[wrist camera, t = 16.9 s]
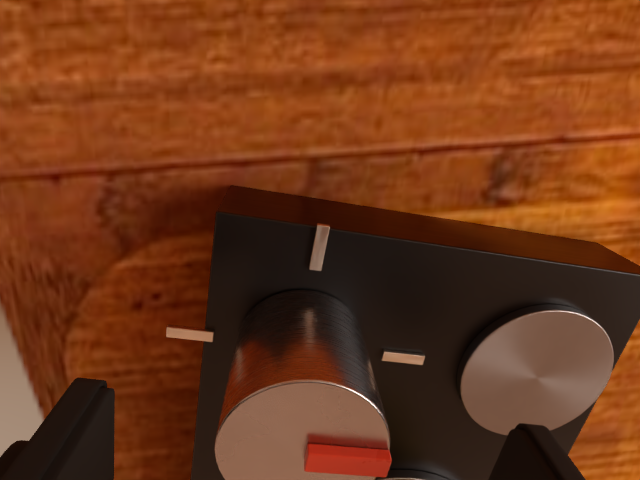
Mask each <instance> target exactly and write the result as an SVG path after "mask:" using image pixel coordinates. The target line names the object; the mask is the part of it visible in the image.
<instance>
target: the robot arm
mask: <svg viewBox="0 0 640 480" xmlns="http://www.w3.org/2000/svg"><path fill="white" fill-rule="evenodd" d="M114 401H115V393H114V389H113V388H107V383H106V381H104V380H96V379H86V378H77V379H75V380H74V381H73V382H72V383H71V385H70V386H69V388H68V389H67V390H66V392H65V393H64V394H63V396H62V397H61V398H60V400H59V401H58V402H57V404H56V405H55V406H54V408H53V409H52V410H51V412H50V413H49V415H48V416H47V417H46V419H45V420H44V421H43V423H42V424H41V425H40V427H39V428H38V429H37V431H36V432H35V433H34V435H33V436H32V438H31V439H30V440H29V441H22V440H21V441H16V442H15V443H13V444H12V445H11V446H10V447H9V448H8V449H7V450H6V451H5V452H4V453H3V455H2V456H1V457H0V480H113V479H114ZM488 480H585V478H584V477H583V476H582V474H581V473H580V472H579V470H578V469H577V467H576V466H575V465H574V463H573V462H572V461H571V459H570V458H569V456H568V455H567V454H566V452H565V451H564V450H563V448H562V447H561V445H560V444H559V443H558V441H557V440H556V439H555V437H554V436H553V434H552V433H551V432H550V430H549V429H548V428H547V427H545V426H543V425H534V424H525V423H519V424H518V425H517V426H516V427H515V429H512V430H510V432H509V434H508V436H507V438H506V441H505V443H504V445H503V447H502V450H501V452H500V454H499V456H498V459H497V461H496V463H495V465H494V468H493V470H492V472H491V475H490V477H489V479H488Z"/></svg>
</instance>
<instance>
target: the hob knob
mask: <svg viewBox="0 0 640 480" xmlns="http://www.w3.org/2000/svg"><path fill="white" fill-rule="evenodd" d="M389 449H390V431H389V427H388V424H387V420H386V417H385V413H384V409H383V406H382V402H381V399H380V395H379V391H378V388H377V384H376V381H375V377H374V373H373V370H372V366H371V363H370V359H369V356H368V352H367V348H366V345H365V341H364V338H363V334H362V330H361V327H360V324H359V322H358V320H357V318H356V317H355V315H354V314H353V313H352V312H351V310H350V309H349V308H348V307H347V306H345V305H344V304H343V303H342V302H340V301H338V300H337V299H335V298H333V297H331V296H329V295H327V294H323V293H320V292H316V291H310V290H293V291H287V292H282V293H279V294H276V295H273V296H271V297H269V298H267V299H265V300H263V301H262V302H260V303H259V304H258V305H256V306H255V307H254V308H253V309H252V310H251V311H250V312H249V313H248V314H247V316H246V317H245V318H244V320H243V322H242V323H241V325H240V328H239V330H238V334H237V339H236V343H235V348H234V353H233V358H232V363H231V367H230V372H229V377H228V382H227V387H226V391H225V396H224V401H223V406H222V411H221V415H220V420H219V425H218V430H217V435H216V439H215V457H216V461H217V464H218V467H219V470H220V472H221V474H222V476H223V477H224V479H225V480H375V479H376V477H387V474H388V471H389V468H390V465H391V462H392V459H391V455H390V451H389Z"/></svg>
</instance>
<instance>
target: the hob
mask: <svg viewBox="0 0 640 480" xmlns="http://www.w3.org/2000/svg"><path fill="white" fill-rule="evenodd" d="M293 290H310V291H316V292H320V293H323V294H327V295H329V296H331V297H333V298H335V299H337V300H338V301H340V302H342V303H343V304H344V305H345V306H347V307H348V308H349V309H350V310H351V312H352V313H353V314H354V315H355V317H356V318H357V320H358V322H359V324H360V327H361V330H362V334H363V338H364V341H365V345H366V348H367V352H368V356H369V359H370V363H371V366H372V370H373V373H374V377H375V381H376V384H377V388H378V391H379V395H380V399H381V402H382V406H383V409H384V413H385V417H386V420H387V424H388V427H389V431H390V449H389V451H390V455H391V459H392V462H391V465H390V468H389V470H396V469H399V470H416V471H423V472H427V473H432V474H435V475H438V476H441V477H444V478H446V479H448V480H488V479H489V477H490V475H491V472H492V470H493V468H494V465H495V463H496V461H497V459H498V456H499V454H500V452H501V450H502V447H503V445H504V443H505V441H506V438H507V436H508V435H502V434H498V433H495V432H492V431H490V430H487V429H485V428H484V427H482V426H480V425H479V424H478V423H476V422H475V421H474V420H473V419H472V418H471V417H470V416H469V414H468V413H467V411H466V410H465V408H464V406H463V404H462V402H461V400H460V397H459V395H458V390H457V372H458V368H459V364H460V361H461V359H462V357H463V355H464V353H465V351H466V350H467V348H468V346H469V345H470V344H471V342H472V341H473V340H474V339H475V338H476V337H477V336H478V334H479V333H480V332H481V331H483V330H484V329H485V328H486V327H487V326H489V325H490V324H491V323H493V322H494V321H496V320H497V319H499V318H501V317H503V316H505V315H507V314H509V313H511V312H514V311H516V310H519V309H522V308H526V307H529V306H536V305H546V304H553V305H563V306H568V307H572V308H574V309H577V310H580V311H581V312H583V313H585V314H587V315H588V316H589V317H591V318H592V319H593V320H595V321H596V322H597V323H598V324H599V325H600V326H601V327H602V328H603V329H604V330H605V332H606V333H607V335H608V336H609V339H610V341H611V344H612V348H613V353H614V362H613V368H612V370H613V369H614V367H615V365H616V363H617V361H618V359H619V357H620V355H621V353H622V352H623V350H624V348H625V346H626V344H627V342H628V340H629V338H630V336H631V335H632V333H633V331H634V329H635V327H636V325H637V323H638V321H639V319H640V266H639V265H637V264H635V263H633V262H631V261H630V260H628V259H626V258H624V257H622V256H620V255H618V254H617V253H615V252H613V251H611V250H609V249H607V248H606V247H604V246H602V245H600V244H598V243H595V242H588V241H582V240H575V239H569V238H563V237H556V236H550V235H544V234H537V233H531V232H525V231H518V230H512V229H506V228H499V227H493V226H487V225H480V224H474V223H468V222H461V221H455V220H449V219H442V218H436V217H429V216H423V215H417V214H410V213H404V212H398V211H391V210H385V209H379V208H372V207H366V206H360V205H353V204H347V203H341V202H334V201H328V200H322V199H315V198H309V197H302V196H296V195H290V194H283V193H277V192H271V191H264V190H258V189H252V188H245V187H239V186H233V185H232V186H230V188H229V190H228V192H227V193H226V195H225V197H224V199H223V201H222V203H221V204H220V206H219V208H218V210H217V212H216V217H215V228H214V238H213V249H212V259H211V270H210V280H209V291H208V302H207V312H206V323H205V329H202V328H194V327H185V326H176V325H168V326H167V329H166V337H170V338H179V339H189V340H198V341H204V344H203V354H202V365H201V376H200V386H199V397H198V407H197V418H196V428H195V439H194V450H193V460H192V471H191V480H225V479H224V477H223V476H222V474H221V472H220V470H219V467H218V464H217V461H216V457H215V439H216V435H217V430H218V425H219V420H220V415H221V411H222V406H223V401H224V396H225V391H226V387H227V382H228V377H229V372H230V367H231V363H232V358H233V353H234V348H235V343H236V339H237V334H238V330H239V328H240V325H241V323H242V322H243V320H244V318H245V317H246V316H247V314H248V313H249V312H250V311H251V310H252V309H253V308H254V307H255V306H256V305H258V304H259V303H260V302H262V301H263V300H265V299H267V298H269V297H271V296H273V295H276V294H279V293H282V292H287V291H293ZM597 399H598V398H597ZM597 399H596V401H597ZM596 401H595V402H594V403H593V404H592V405H591V406H590V407H589V408H588V409H587V410H585V411H584V412H583V413H582V414H580V415H579V416H578V417H576V418H575V419H573V420H571V421H570V422H568V423H566V424H564V425H562V426H560V427H558V428H556V429H553V430H550V432H551V433H552V434H553V436H554V437H555V439H556V440H557V441H558V443H559V444H560V445H561V447H562V448H563V450H564V451H565V452H566V454H567V455H568V453H569V452H570V450H571V448H572V446H573V444H574V442H575V440H576V438H577V437H578V435H579V433H580V431H581V429H582V427H583V425H584V423H585V421H586V420H587V418H588V416H589V414H590V412H591V410H592V408H593V406H594V404H595V403H596Z"/></svg>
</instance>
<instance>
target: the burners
mask: <svg viewBox="0 0 640 480" xmlns="http://www.w3.org/2000/svg"><path fill="white" fill-rule="evenodd" d="M613 362H614V353H613V348H612V344H611V341H610V339H609V336H608V335H607V333H606V332H605V330H604V329H603V328H602V327H601V326H600V325H599V324H598V323H597V322H596V321H595V320H593V319H592V318H591V317H589V316H588V315H587V314H585V313H583V312H581V311H580V310H577V309H574V308H572V307H568V306H563V305H553V304H546V305H536V306H529V307H526V308H522V309H519V310H516V311H514V312H511V313H509V314H507V315H505V316H503V317H501V318H499V319H497V320H496V321H494V322H493V323H491V324H490V325H489V326H487V327H486V328H485V329H484V330H483V331H481V332H480V333H479V334H478V336H477V337H476V338H475V339H474V340H473V341H472V342H471V344H470V345H469V346H468V348H467V350H466V351H465V353H464V355H463V357H462V359H461V361H460V364H459V368H458V372H457V390H458V395H459V397H460V400H461V402H462V404H463V406H464V408H465V410H466V411H467V413H468V414H469V416H470V417H471V418H472V419H473V420H474V421H475V422H476V423H478V424H479V425H480V426H482V427H484V428H485V429H487V430H490V431H492V432H495V433H498V434H502V435H508V434H509V432H510V430H512V429H515V427H516V426H517V425H518V424H519V423H525V424H534V425H543V426H545V427H547V428H548V429H549V430H553V429H556V428H558V427H560V426H562V425H564V424H566V423H568V422H570V421H571V420H573V419H575V418H576V417H578V416H579V415H580V414H582V413H583V412H584V411H585V410H587V409H588V408H589V407H590V406H591V405H592V404H593V403H594V402H595V401H596V399H597V398H598V397H599V396H600V394H601V393H602V391H603V390H604V388H605V387H606V385H607V383H608V380H609V378H610V375H611V372H612V368H613ZM375 480H448V479H446V478H444V477H441V476H438V475H435V474H432V473H427V472H423V471H416V470H399V469H396V470H389V471H388V474H387V477H376V479H375Z"/></svg>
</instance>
